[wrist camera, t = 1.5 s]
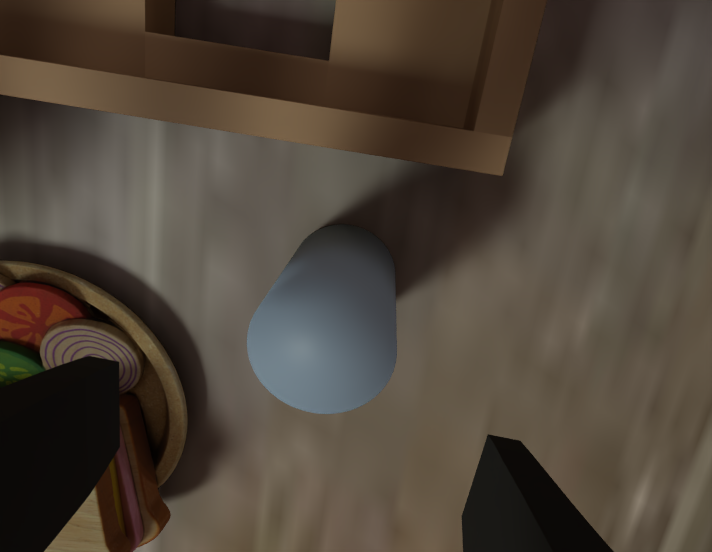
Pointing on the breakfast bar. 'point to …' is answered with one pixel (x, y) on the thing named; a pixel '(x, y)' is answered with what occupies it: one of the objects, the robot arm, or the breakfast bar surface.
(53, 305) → the toy sandwich meal
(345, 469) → the breakfast bar surface
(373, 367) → the peg
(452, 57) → the box with square hole
